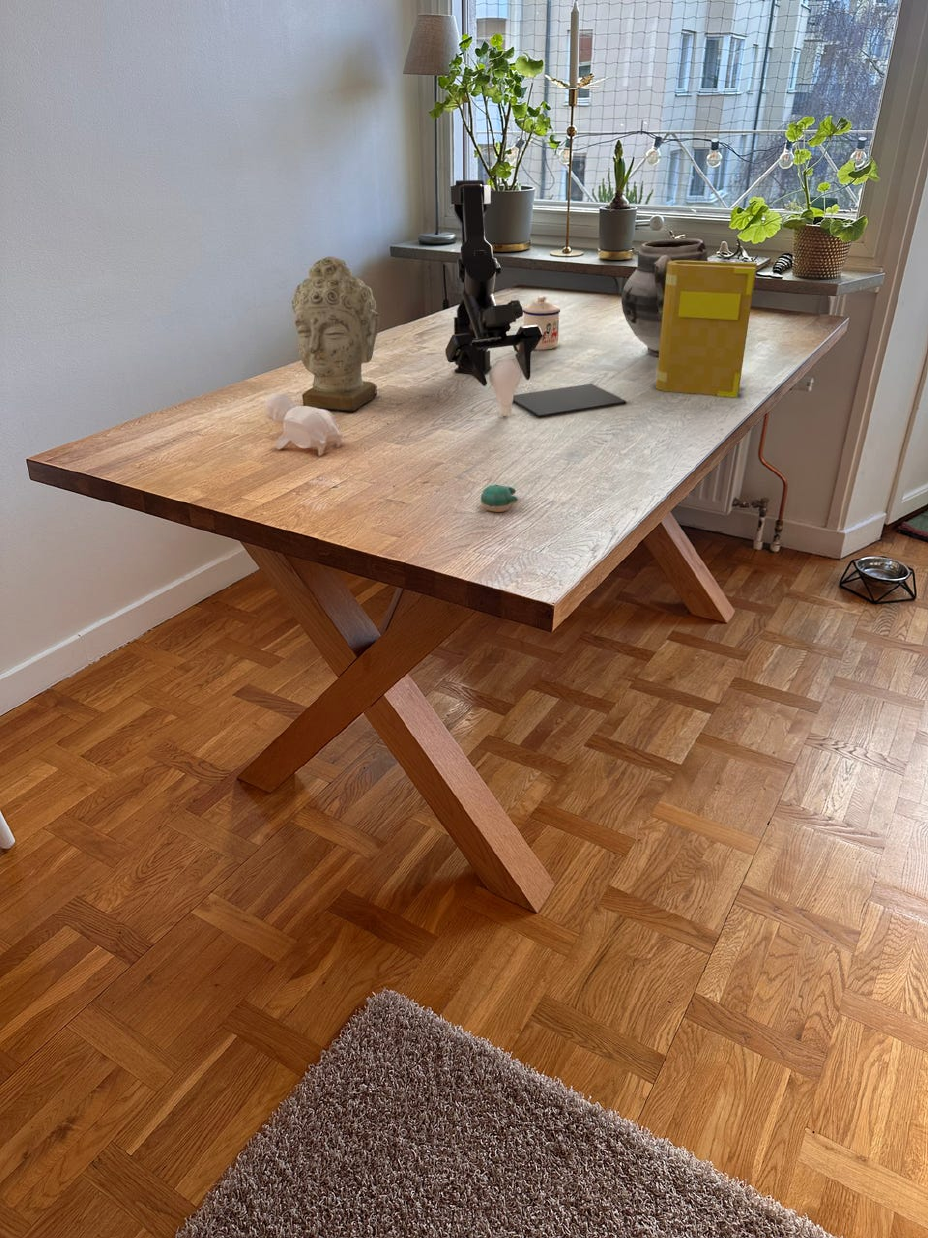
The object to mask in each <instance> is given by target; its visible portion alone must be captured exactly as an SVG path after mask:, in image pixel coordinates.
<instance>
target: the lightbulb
mask: <svg viewBox="0 0 928 1238" xmlns="http://www.w3.org/2000/svg"><path fill="white" fill-rule="evenodd" d="M488 377H489V382H490V384H491V386H492V388H493V389H494V392H495V396H496V403H497V410H498V413H499V414H500V415H501V416H502V417H508V415H510V414H511V413H512V408H513V407H512V406H513V403H514V402H513V397H514V395H515V394H516V393H515V392H516V390H517V389H518V386H519V384H520V382H521V379H522V370H521V368H520V366H519V364H517V363H516V362H515V361H514V360H511V359H507V358H503V359H499V360H498V361H496V362H494V364H493V365H491V368H490V369H489V374H488Z"/></svg>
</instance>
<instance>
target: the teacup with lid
mask: <svg viewBox="0 0 928 1238" xmlns="http://www.w3.org/2000/svg"><path fill="white" fill-rule="evenodd" d="M522 309H523V326H530V325H537V326H539V327H540V328H541V331H542V334H543V337H542V338H541V340H540V341H539V343H538V345H537V346H536V348H535V350H538V351H545V350H546V351H547V350H553V349H555V348H557V347H558V345H559V329H560V328H559V325H560V312H561V308H560V306H559V305H557V304H553V303H552V302H550V301H548V300H547V297H546V296H544V295H543V296H542V295H541V296H538V297H537V300H535V301H533V302H532V303H530V304H527V305H525V306H524V307H523V308H522ZM535 350H534V351H535Z"/></svg>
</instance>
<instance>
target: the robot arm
mask: <svg viewBox="0 0 928 1238" xmlns="http://www.w3.org/2000/svg"><path fill="white" fill-rule="evenodd" d="M449 199H450V200H449V202H450V205H453V215H454V217H455V218H456V221H457V222H458V224H459V225H460V227H461V228H460V229H461V231H460V232H461V246H460V258H457V259H456V260H457V263H456V264H457V265H456V266H457V267H456V268H457V278H458V279H460V280H461V281H460V282H461V283H462V294H461V297H462V299H461V301H460V303H459V305H458V307H457V309H456V316H454V317H453V334H452V335H451V337H450V339H449V341H448V342H447V345H446V348H445V351H444V352H445V357H446V360H447V362H448V363H454V364H455V365H456V366H457V367H456V368H455V369H454V372H455V373H462V374H470V375H471V376H473V378H474V379H476V381H477V382H479V383H480V384H481V385H482V386H483V387H486V386H487V385H488V381H487V377H486V373H485V372H487V371H488V370H489V371H490V370H491V367H492V365H491V349H496V348H505V347H513V350H514V352H516V353H515V359H516V361H517V363H518V366H519V368H520V371H521V373H522V375H523V376H524V378H525V379H526V381H529V380H530V378H531V368H532V367H531V363H532V362H531V361H532V360H531V359H532V352H534V351H535V348H536V346H537V345H538V343H539V341H540V340H541V338H542V337H543V334H542V331H541V328H540V327H539V326H537V325H530V326H524V325H522V326H521V325H520V326H519V328H518V330H517V332H516V333H515V334H507V332H510V330H511V329H512V327H511V324H512V323H516V322H517V320H519V319H520V318H522V317H524V312H523V309H524V308H523V305H522V303H521V301H520V299H515V300H510V301H509V302H507V303H506V304H496V303H497V302H496V300H495V297H494V294H493V293H494V291H495V283H496V278H498V277H499V275H501V272H502V271H501V270H502V269H501V268H502V267H501V266H500V263H499V262H498V260H497V258H496V257H494V254H493V246H492V245H491V243H489V242H488V241H487V240H486V229H485V215H486V213H487V210H488V205H490V204H491V184H486V183H485V180H484V179H467V180H466V179H463V180H462V179H461V180H460V179H459V180H455V184H454V185H450V186H449Z"/></svg>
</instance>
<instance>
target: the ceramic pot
mask: <svg viewBox="0 0 928 1238" xmlns="http://www.w3.org/2000/svg"><path fill="white" fill-rule="evenodd" d="M676 260H687V261H709V259H708V249H707V247H706V245H705V241H704V240H702V239H700V238H694V237H692V238H691V237H690V238H685V237H684V238H683V237H682V238H665V239H653V240H649V241H646V242H643V243H642V244H641V246H640V248H639V251H638V254H637V266H636V269H635V271H633V273H632V274H631V275H630V276H629V278H628V279H627V281H626V283H625V285H624V286H623V289H622V293H621V301H620V302H621V309H622V313H623V315H624V318H625V320H626V322H627V324H628V326H629V328H630V329H631V330H632V332H633V334H634V336H635V337H636V338H637V339H638V340H639V341H640V342H641V343H643V344H644V345H645V346H646V347H647V352H648V354H649V355H650V356H655V357H659V348H660V338H661V327H662V317H663V306H664V295H665V285H666V274H667V263H668V262H669V261H676Z"/></svg>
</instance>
